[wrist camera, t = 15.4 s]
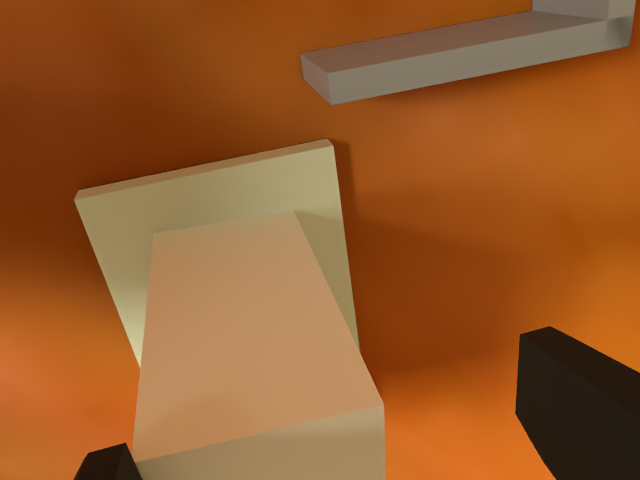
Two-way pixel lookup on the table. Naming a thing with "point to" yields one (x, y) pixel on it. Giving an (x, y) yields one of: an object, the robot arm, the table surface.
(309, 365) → the tan block
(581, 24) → the shelf bay
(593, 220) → the table surface
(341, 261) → the sage mat
